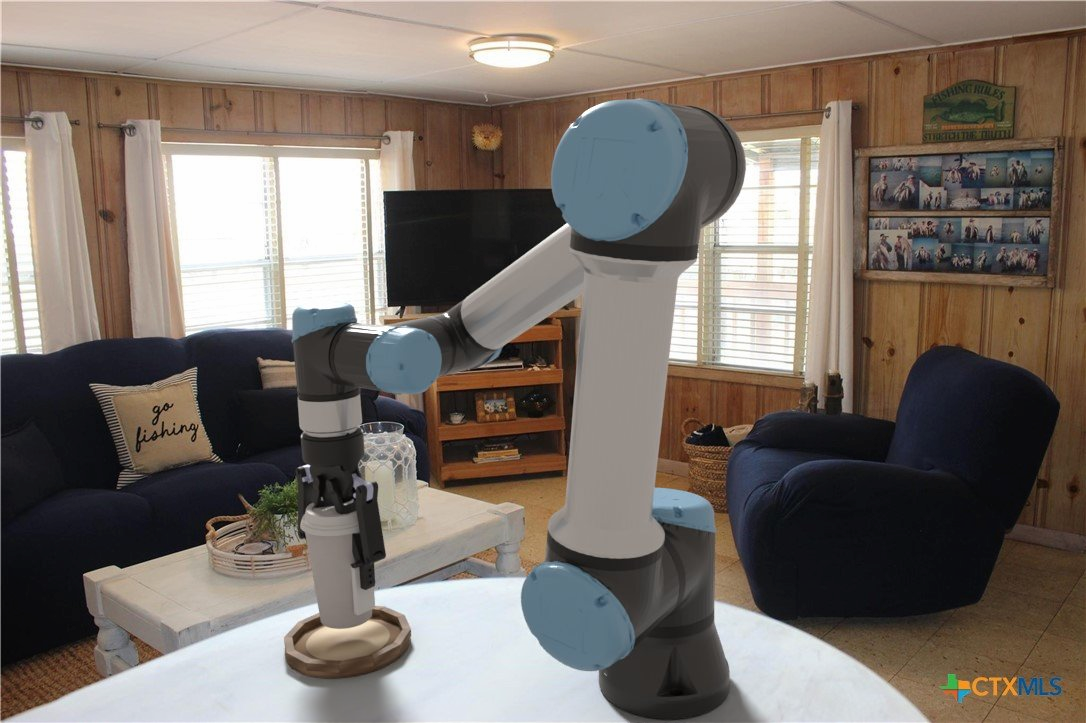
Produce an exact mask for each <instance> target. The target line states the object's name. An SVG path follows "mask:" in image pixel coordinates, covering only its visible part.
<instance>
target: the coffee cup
mask: <svg viewBox="0 0 1086 723" xmlns="http://www.w3.org/2000/svg"><path fill="white" fill-rule="evenodd" d="M353 501H354V500H353V499H352V500H351V501H350V502H347V503H344V505H347V504H350V503H352V502H353ZM300 527H301V529H302V530H303V531H304V532H305V535H306V540H305V541H306V544H307V550H308V555H309V556H308V557H309V562H310V566H311V567H310V568H311V573H312V579H313V586H314V585H315V589H314V592H315V591H316V596H315V597H316V602H317V603H316V604H317V607H318V613H319V614H320V620H321V623H322V624H323V625H324V626H326V627H329V628H334V629H346V628H352V627H356V626H359V625H361V624H363V623H365V622H367V621H368V620H369V619H370V618H371V616H372V609H371V610H369V611H367V612H365V613H362V614H360V615H356V614H354V602H353V589H352V575H351V565H350V564H353V563H355V560H354V556H353V553H352V534H353V533H360V531H359V524H358V518H357V512H356V511H355V512H352V513H349V514H341V515H340V514H339V513H337V512H336V510H335V506H328V507H320V508H316V505H315V504H314V503H311V504H309V505H308V506H307V508H306V512H305V514H304V515H303V517H302V520H301V524H300ZM362 555H363V553H362Z"/></svg>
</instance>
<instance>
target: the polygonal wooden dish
mask: <svg viewBox="0 0 1086 723" xmlns="http://www.w3.org/2000/svg"><path fill="white" fill-rule="evenodd" d="M411 637H412V628H411V626H410V624H409V622H408V619H407V617H406V615H405V614H403V613H401V612H399V611H396V610H394V609H392V608H389V607H387V606H383V605H375V608H373V609H372V616H371V618H370V619H369V620H368V621H367V622H365V623H363V624H361V625H359V626H356V627H352V628H346V629H334V628H329V627H326V626H324V625H323V624H322V623H321V620H320V614H319V612H317V613H315V614H313V615H311V616H309V617H306V618H304V619H302V620H300V621H297V623H296V624H295V625H294V626H293V627H291V629H290V630H289V631H288V632H287V633H286V634H285V635H284V636H283V640H284V641H283V642H284V656H285V661H286V663H287V665H288V666H289V667H290V669H292V670H294V671H295V672H297V673H299V674H301V675H304V676H307V677H311V678H318V679H330V680H331V679H345V678H347V679H348V678H353V677H359V676H363V675H367V674H370V673H373V672H376V671H378V670H379V671H380V670H381V669H383V668H385V667H388V666H389V665H391V664H393V663H394V662H396V661H397V660H398V659H400V658H401V657H402V656H403V655H404V654H405V653H406V652H407V651H408V648H409V647H410V644H411Z"/></svg>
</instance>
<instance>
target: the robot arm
mask: <svg viewBox="0 0 1086 723" xmlns="http://www.w3.org/2000/svg"><path fill="white" fill-rule="evenodd" d="M741 141H742V140H741V139H740V137H739V136H738V134H737V132H736V131H735V129H734V128H733V127H732V126H731V124H729V122H727V121H726V119H724V118H723V117H721V115H719V114H717V113H715V112H713V111H711V110H709V109H707V108H703V107H700V106H693V105H680V104H675V103H669V102H663V101H657V100H653V99H644V98H642V97H641V98H636V99H635V98H634V99H616V100H614V99H613V100H610V101H609V100H607V101H605V102H601V103H598V104H597V105H595V106H592V107H590V108H589V109H587V110H585V111H584V112H583V113H582V114H581V115H580V116H578V118H576V120H575V121H573V123H571V124H570V125H569V127H568V128H567V129H566V130H565V131H564V134H563V135H562V137H561V139H560V141H559V142H558V145H557V147H556V149H555V152H554V157H553V159H552V165H551V175H550V176H551V177H550V181H551V182H550V183H551V192H552V193H551V194H552V197H553V200H554V202H555V205H556V207H557V208H559V209H560V211H561V212H562V213H561V215H562V216H561V217H562V218H563V220H564V221H565V224H563V226H561V227H560V228H558V229H557V230H556V231H554V232H553V233H551V234H549V236H547V237H546V238H545V239H543V240H542V241H541V242H540V243H538V244H536V245H535V246H534V247H533V248H531V249H529V250H528V251H527V252H525V254H523V255H522V256H520V257H519V258H518V259H516V260H515V261H513V262H512V263H511V264H510V265H508V266H507V267H505V268H504V269H502V270H501V271H500V272H499V273H497V274H495V276H493V277H492V278H491V279H490V280H488V281H486V282H485V283H484V284H482V285H481V286H480V287H478V288H477V289H476V290H474V291H473V292H471V293H470V294H469V295H468V296H466V297H465V298H464V299H462V301H460V302H458V303H457V304H456V305H454V306H452V307H451V308H450V309H449V310H447V311H445V312H443V313H440V314H435V315H429V316H425V317H420V318H416V319H411V320H410V319H409V320H405V321H401V322H400V321H399V322H396V323H395V322H394V323H389V324H368V323H359V322H358V318H357V317H356V316H357V315H356V311H355V307H354V305H352V304H351V303H347V302H342V301H341V302H339V301H337V302H336V301H332V302H318V303H317V302H315V303H307V304H303V305H299V306H298V307H296V308H295V309H294V311H293V313H292V316H291V317H292V320H291V322H292V325H291V326H292V327H291V328H292V335H291V336H292V338H291V343H292V348H293V357H294V369H295V370H294V371H295V380H296V390H297V391H296V392H297V408H298V409H297V410H298V423H299V425H298V426H299V428H300V430H301V431H302V433H301V435H300V444H301V454H302V455H301V456H302V457H301V458H302V461H303V462H304V464H305V465H302V466H301V465H300V466H299V467H296V468H295V471H294V472H295V476H296V481H297V536H298V538H299V539H300V540H305V541H307V540H306V535H305V532H304V531H303V530H302V529H301V527H300V524H301V520H302V517H303V515H304V514H305V512H306V508H307V506H308V505H309V504H311V503H314V504H315V505H316V508H320V507H328V506H335V510H336V512H337V513H339V514H340V515H341V514H349V513H352V512H355V511H356V512H357V518H358V524H359V531H360V533H353V534H352V553H353V556H354V560H355V563H353V564H350V565H351V575H352V589H353V602H354V614H356V615H360V614H362V613H365V612H367V611H369V610H371V609H373V608H375V606H376V601H375V600H376V596H375V585H376V574H375V572H376V571H375V563H377V562H380V561H382V560H384V559H386V557H387V553H386V548H385V546H386V545H385V540H384V534H383V528H382V520H381V514H380V508H379V502H378V497H379V496H378V495H379V484H378V482H377V481H376V480H373V481H369V482H368V481H366V480H365V479H363V478H362V473H361V470H360V468H359V463H360V461H361V459H362V458H364V457H365V454H366V453H365V440H364V430H363V428H362V427H360V426H361V425H362V423H363V414H362V405H361V404H362V403H361V402H362V400H361V388H362V389H367V390H373V391H379V392H385V393H387V394H392V395H400V396H401V395H403V394H404V395H406V394H407V395H418V394H419V395H420V394H421V393H424V392H426V391H427V390H429V389H430V387H431V385H432V384H433V383H435V382H436V381H437V379H438V378H441V377H444V376H447V375H448V376H449V375H452V374H455V373H459V372H463V371H468V370H475V369H479V368H480V367H482V366H485V365H487V364H488V363H490V362H492V361H494V360H495V359H497V358H498V357H499V356H500V355H501V352H502V350H503V347H504V346H505V345H507V344H508V343H510V342H511V341H513V340H514V339H516V338H518V337H519V336H520V335H522V334H524V333H525V332H526V331H529V330H530V329H531V328H533V327H534V326H535V325H538V324H539V323H540V322H542V321H543V320H545V319H546V318H548V317H549V316H552V314H554V313H555V312H557V311H559V310H560V309H562V308H563V307H565V306H566V305H567V304H569V303H571V302H572V301H574V300H575V299H577V298H579V297H580V296H581V295H582V297H581V308H580V321H579V322H580V323H579V331H578V332H579V334H578V343H577V344H578V346H577V354H576V355H577V357H576V358H577V359H576V369H575V381H574V392H573V393H574V394H573V403H572V404H573V405H572V417H571V429H570V431H571V432H570V442H569V453H568V454H569V455H568V463H567V464H568V465H567V466H568V467H567V478H566V479H567V480H566V489H565V490H566V491H565V503H564V506H562V507H561V508H560V509H558V510H557V511H555V512H554V513H553V514H552V515H551V516H550V517H549V520H548V524H547V533H546V544H545V545H546V546H545V554H544V556H545V557H544V560H543V562H540V563H539V564H537V565H536V566H534V567H533V568H532V569H531V570H530V573H529V574H528V575H526V577H525V579H524V581H523V584H522V587H521V592H520V603H521V604H520V606H521V611H522V615H523V618H524V621H525V623H526V625H527V627H528V629H529V631H530V633H531V634H532V635H533V636H534V637H535V638H536V639H537V641H538V644H539V646H541V647H542V648H543V650H544V651H545V652H546V653H547V654H548V655H550V656H551V657H552V658H553V659H555V660H556V661H558V662H559V663H561V664H562V665H564V666H567V667H569V668H571V669H574V670H577V671H581V672H598V685H599V689H600V691H601V693H602V695H604V697H605V698H606V699H607V700H608V701H609V702H611V703H612V704H613V705H614V706H616V707H618V708H619V709H621V710H624V711H626V712H629V713H632V714H635V715H637V716H642V717H646V718H652V719H658V720H659V719H661V720H662V719H663V720H676V719H677V720H678V719H686V718H691V717H697V716H700V715H703V714H706V713H708V712H710V711H712V710H714V709H716V708H717V707H718V706H720V705H721V704H722V703H723V702H724V701H725V700H726V698H727V697H728V695H729V692H730V684H731V683H730V682H731V681H730V679H731V678H730V677H731V676H730V674H731V672H730V666H729V662H728V660H727V658H726V655H725V652H724V648H723V645H722V642H721V639H720V636H719V634H718V630H717V627H716V623H715V596H716V595H715V593H716V592H715V591H716V590H715V588H716V586H715V585H716V584H715V583H716V582H715V581H716V534H717V531H718V530H717V528H716V523H715V521H716V520H715V509H714V507H713V505H712V504H711V502H710V501H709V500H708V499H706V498H704V497H703V496H700V495H699V494H696V493H693V492H688V491H685V490H679V489H673V488H667V487H666V488H665V487H655V485H656V477H657V468H658V460H659V450H660V443H661V433H662V425H663V415H664V414H663V413H664V406H665V399H666V398H665V396H666V389H667V379H668V371H669V370H668V369H669V361H670V352H671V344H672V337H673V336H672V335H673V325H674V317H675V316H674V315H675V310H676V309H675V307H676V300H677V290H678V283H679V282H678V280H679V277H680V276H682V274H683V273H684V272H686V270H688V269H689V268H690V267H691V266H694V264H696V263H697V259H698V253H699V245H700V239H701V229H703V228H705V227H707V226H709V225H710V224H712V223H714V222H716V221H717V220H719V219H720V218H722V217H723V216H724V215H725V214H726V213H727V212H728V211H729V210H730V209H731V208H732V206H733V205H734V204H735V203H736V201H737V199H738V197H739V196H740V193H741V191H742V188H743V185H744V183H745V176H746V171H747V166H746V164H747V163H746V155H745V150H744V147H743V144H742V142H741ZM352 499H353V500H354V501H353V502H352V503H350V504H347V505H344V503H347V502H350V501H351V500H352ZM362 553H363V555H362ZM313 586H314V587H313V588H314V597H316V591H315V585H314V584H313Z"/></svg>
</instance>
